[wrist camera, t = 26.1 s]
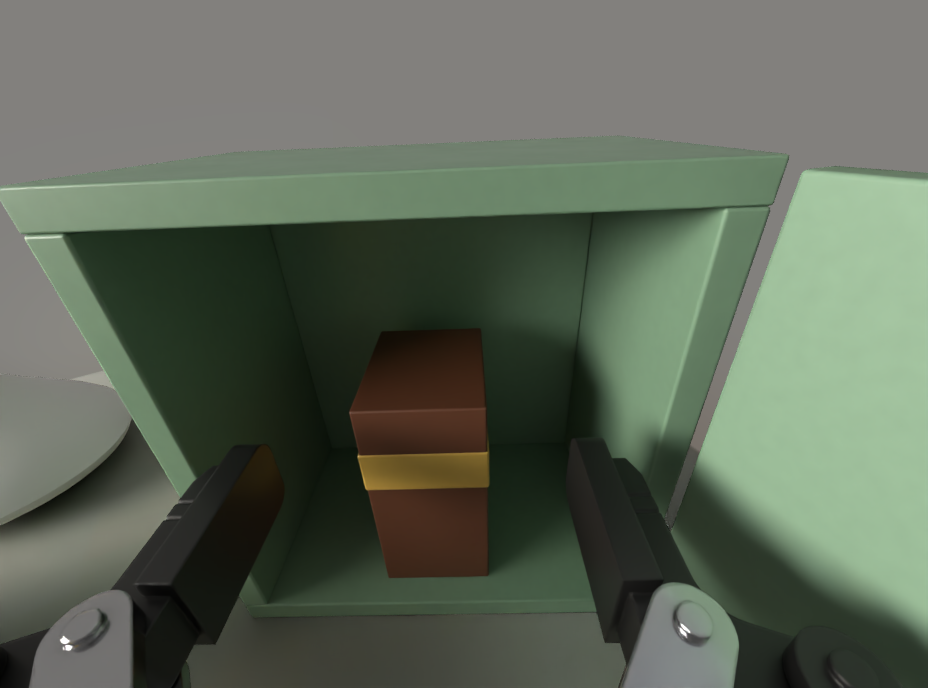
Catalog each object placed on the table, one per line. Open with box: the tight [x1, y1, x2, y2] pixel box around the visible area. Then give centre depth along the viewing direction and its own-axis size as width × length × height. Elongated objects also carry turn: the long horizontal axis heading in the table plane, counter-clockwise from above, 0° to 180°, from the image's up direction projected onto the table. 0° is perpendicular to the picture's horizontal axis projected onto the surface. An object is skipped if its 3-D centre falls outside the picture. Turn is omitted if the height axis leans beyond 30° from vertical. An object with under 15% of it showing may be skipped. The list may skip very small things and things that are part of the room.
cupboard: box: [0, 136, 789, 617], centre depth 15 cm, size 9×15×16 cm, turn 90°
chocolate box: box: [349, 328, 490, 578], centre depth 15 cm, size 5×4×8 cm
